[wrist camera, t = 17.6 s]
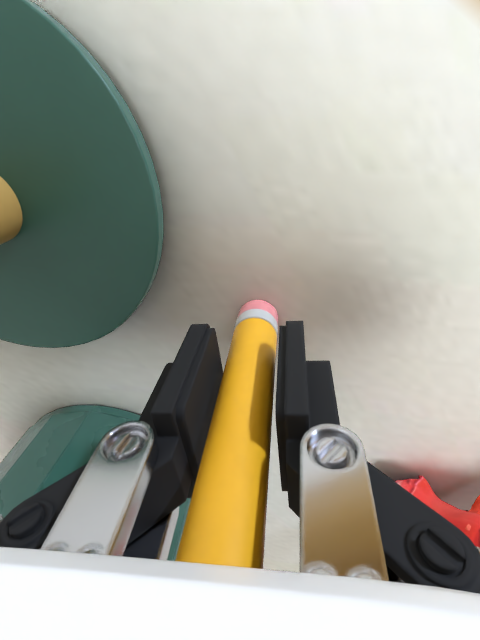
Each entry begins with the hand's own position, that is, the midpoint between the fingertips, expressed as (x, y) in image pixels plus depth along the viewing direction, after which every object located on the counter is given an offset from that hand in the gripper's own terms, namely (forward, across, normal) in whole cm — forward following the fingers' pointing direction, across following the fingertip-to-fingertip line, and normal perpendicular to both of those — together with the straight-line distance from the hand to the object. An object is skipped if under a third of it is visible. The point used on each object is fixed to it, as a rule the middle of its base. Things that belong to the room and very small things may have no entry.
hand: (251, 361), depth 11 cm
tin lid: (+2, +9, -6) cm, 11 cm away
